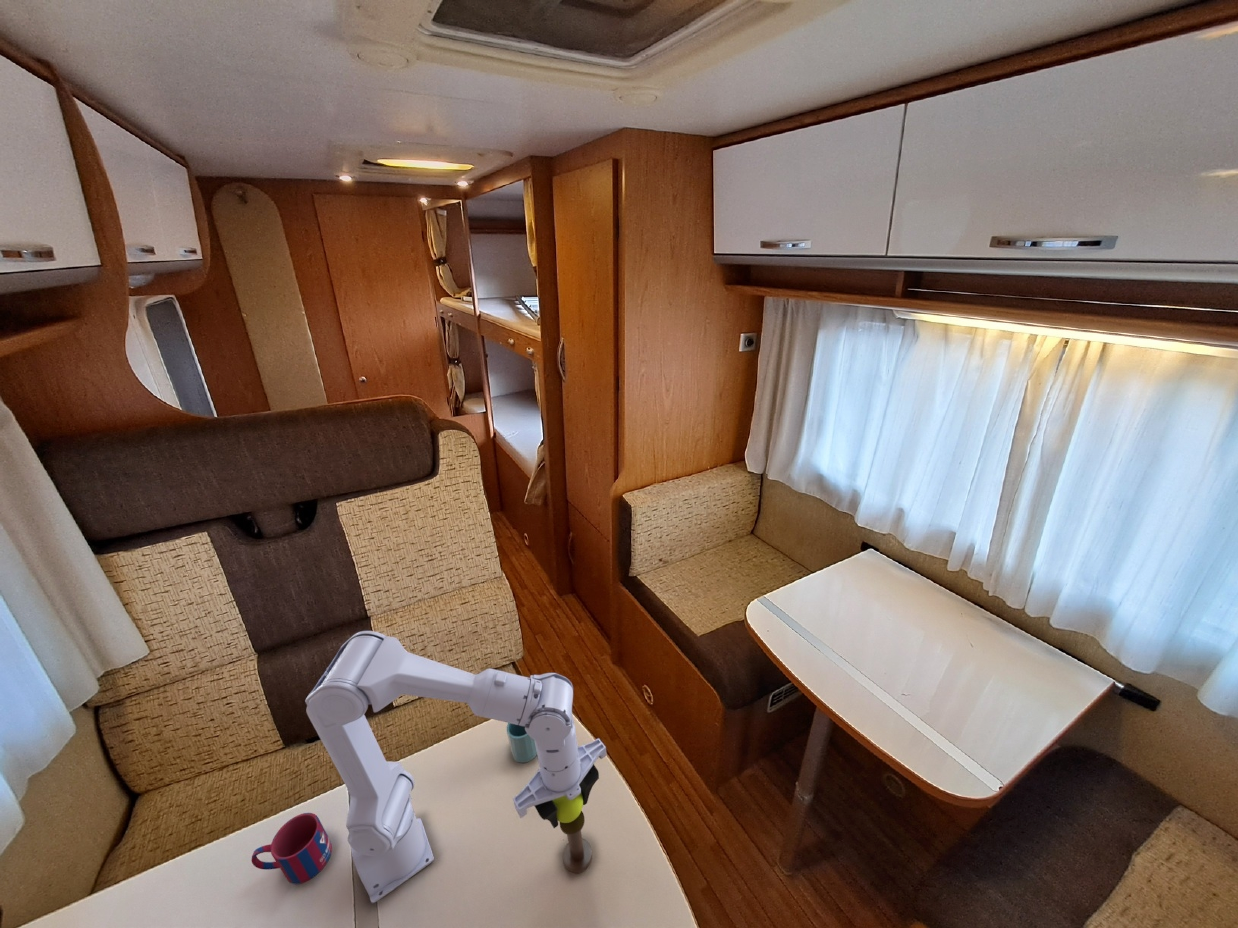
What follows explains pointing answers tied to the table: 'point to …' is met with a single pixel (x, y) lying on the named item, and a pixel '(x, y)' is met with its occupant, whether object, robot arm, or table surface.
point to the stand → (576, 846)
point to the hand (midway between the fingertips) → (567, 809)
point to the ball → (568, 808)
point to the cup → (297, 849)
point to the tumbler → (521, 743)
